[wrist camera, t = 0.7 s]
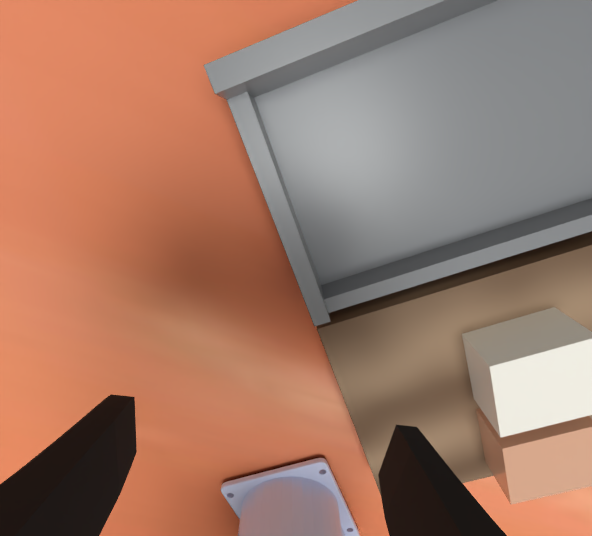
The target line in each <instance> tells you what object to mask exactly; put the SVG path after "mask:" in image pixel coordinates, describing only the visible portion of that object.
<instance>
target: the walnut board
mask: <svg viewBox="0 0 592 536" xmlns="http://www.w3.org/2000/svg"><path fill="white" fill-rule="evenodd" d="M553 307H555V308H557V309H558V310H560V311H561V312H563V313H564V314H566V315H567V316H569V317H570V318H572V319H573V320H575V321H576V322H578V323H579V324H581V325H582V326H584V327H585V328H587V329H588V330H590V331H591V332H592V231H591V232H587V233H584V234H581V235H578V236H575V237H571V238H568V239H565V240H562V241H559V242H555V243H552V244H549V245H546V246H542V247H539V248H536V249H533V250H530V251H526V252H523V253H520V254H517V255H514V256H510V257H507V258H504V259H501V260H497V261H494V262H491V263H488V264H485V265H481V266H478V267H475V268H472V269H468V270H465V271H462V272H459V273H456V274H452V275H449V276H446V277H443V278H440V279H436V280H433V281H430V282H427V283H423V284H420V285H417V286H414V287H411V288H407V289H404V290H401V291H398V292H395V293H391V294H388V295H385V296H382V297H378V298H375V299H372V300H369V301H366V302H362V303H359V304H356V305H353V306H350V307H346V308H343V309H340V310H337V311H333V312H330V313H329V316H330V321H331V322H328V323H324V324H321V325H318V326H317V330H318V333H319V335H320V338H321V341H322V343H323V346H324V348H325V351H326V354H327V356H328V359H329V361H330V364H331V367H332V369H333V372H334V374H335V377H336V380H337V382H338V385H339V387H340V390H341V393H342V395H343V398H344V400H345V403H346V406H347V408H348V411H349V413H350V416H351V419H352V421H353V424H354V426H355V429H356V432H357V434H358V437H359V439H360V442H361V445H362V447H363V450H364V452H365V455H366V457H367V460H368V463H369V465H370V468H371V470H372V473H373V476H374V478H375V481H376V483H377V486H378V489H379V491H380V494H381V490H380V484H379V477H378V474H379V471H380V468H381V465H382V463H383V460H384V457H385V454H386V451H387V449H388V446H389V443H390V440H391V437H392V435H393V432H394V429H395V426H396V425H404V426H414V427H417V428H418V429H419V430H420V431H421V432H422V434H423V435H424V436H425V437H426V439H427V440H428V441H429V442H430V444H431V445H432V446H433V447H434V449H435V450H436V451H437V452H438V454H439V455H440V456H441V458H442V459H443V460H444V461H445V463H446V464H447V465H448V466H449V468H450V469H451V470H452V471H453V473H454V474H455V475H456V476H457V478H458V479H459V480H460V481H461V482H462V483H465V482H469V481H473V480H477V479H482V478H486V477H490V476H494V475H493V473H492V472H491V470H490V468H489V467H488V465H487V463H486V461H485V456H484V450H483V445H482V440H481V434H480V429H479V423H478V418H477V413H476V409H478V408H480V407H479V406H478V404H477V403H476V401H475V400H474V397H473V391H472V386H471V380H470V375H469V370H468V364H467V359H466V354H465V348H464V343H463V338H462V334H463V333H467V332H470V331H473V330H477V329H480V328H484V327H487V326H491V325H494V324H498V323H501V322H505V321H508V320H511V319H515V318H518V317H522V316H525V315H529V314H532V313H536V312H539V311H543V310H546V309H549V308H553ZM589 417H590V418H591V419H592V415H589Z"/></svg>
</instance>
